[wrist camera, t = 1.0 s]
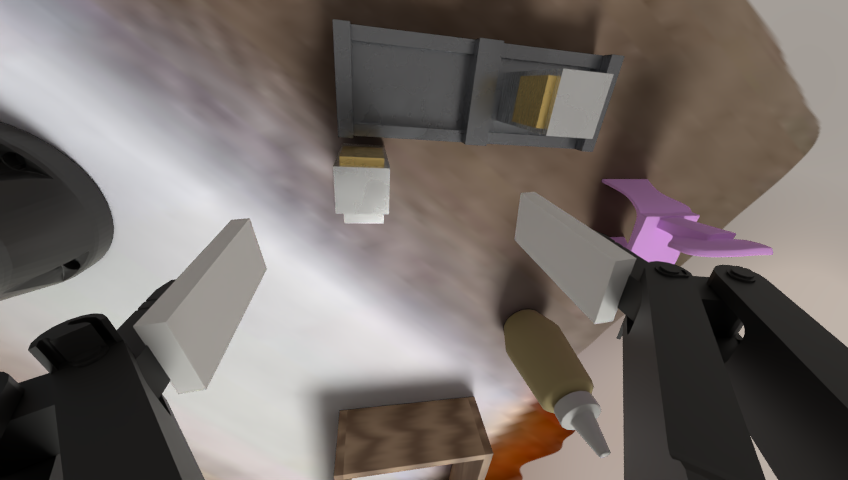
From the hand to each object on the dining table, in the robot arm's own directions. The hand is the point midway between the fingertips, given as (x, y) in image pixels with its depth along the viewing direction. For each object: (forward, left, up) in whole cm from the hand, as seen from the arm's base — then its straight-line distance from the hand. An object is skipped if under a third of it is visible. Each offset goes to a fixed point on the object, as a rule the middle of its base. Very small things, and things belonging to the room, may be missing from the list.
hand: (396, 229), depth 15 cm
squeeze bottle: (+21, -24, -18) cm, 36 cm away
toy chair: (+29, -6, -18) cm, 35 cm away
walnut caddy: (+5, -56, -17) cm, 59 cm away
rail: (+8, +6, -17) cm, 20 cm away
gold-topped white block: (-2, -3, -17) cm, 18 cm away
